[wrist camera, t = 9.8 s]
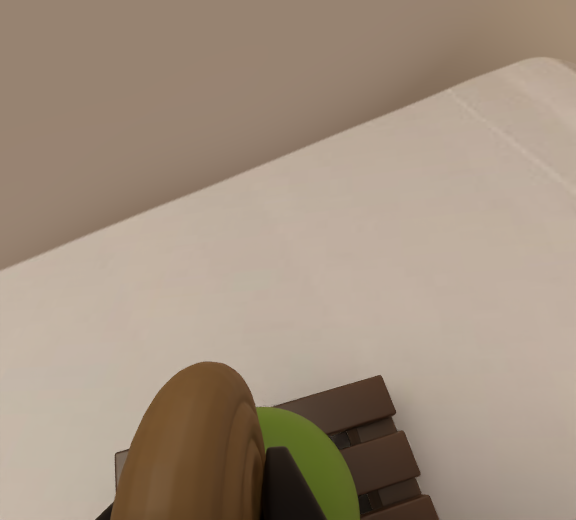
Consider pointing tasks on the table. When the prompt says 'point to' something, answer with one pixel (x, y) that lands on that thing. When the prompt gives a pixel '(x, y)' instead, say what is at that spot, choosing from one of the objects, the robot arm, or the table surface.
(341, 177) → the table surface
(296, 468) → the robot arm
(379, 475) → the rack
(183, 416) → the snail figurine
